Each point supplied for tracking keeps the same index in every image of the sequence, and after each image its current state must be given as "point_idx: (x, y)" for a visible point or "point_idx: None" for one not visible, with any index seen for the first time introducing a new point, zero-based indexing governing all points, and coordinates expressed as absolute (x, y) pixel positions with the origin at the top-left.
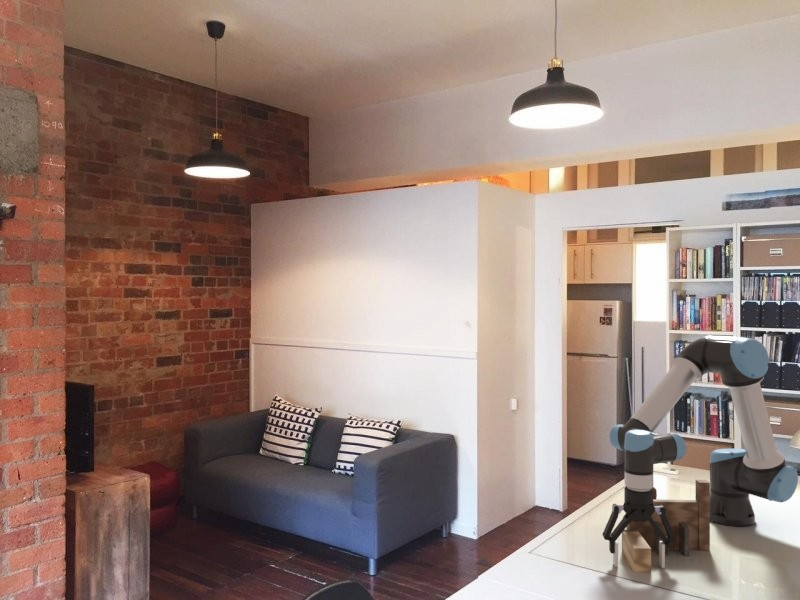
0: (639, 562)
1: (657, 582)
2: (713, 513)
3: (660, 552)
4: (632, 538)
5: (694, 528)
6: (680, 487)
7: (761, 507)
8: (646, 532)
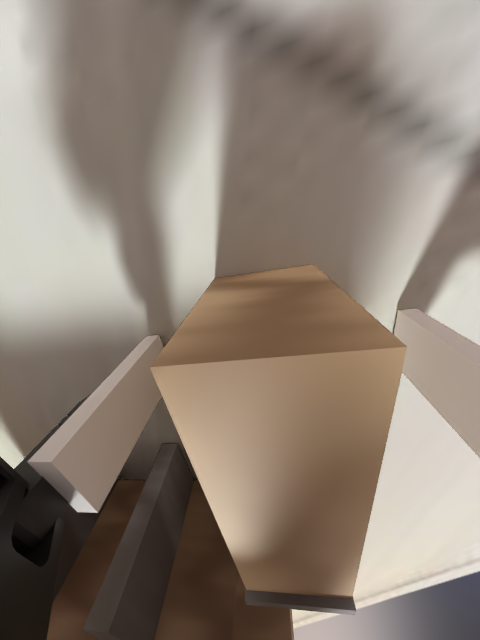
0: (287, 286)
1: (179, 102)
2: None
3: (131, 411)
4: (318, 538)
5: None
6: None
7: None
8: (205, 564)
